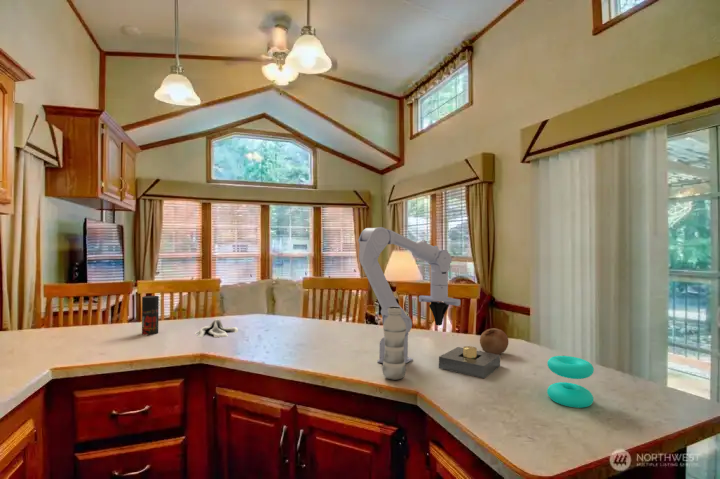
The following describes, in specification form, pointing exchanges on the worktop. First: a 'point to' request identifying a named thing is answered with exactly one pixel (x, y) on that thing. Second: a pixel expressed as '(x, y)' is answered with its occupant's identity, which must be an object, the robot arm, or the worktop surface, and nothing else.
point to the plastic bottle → (394, 344)
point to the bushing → (470, 352)
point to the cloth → (216, 329)
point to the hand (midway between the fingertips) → (438, 324)
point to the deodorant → (150, 315)
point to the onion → (494, 341)
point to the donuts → (568, 391)
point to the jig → (469, 363)
